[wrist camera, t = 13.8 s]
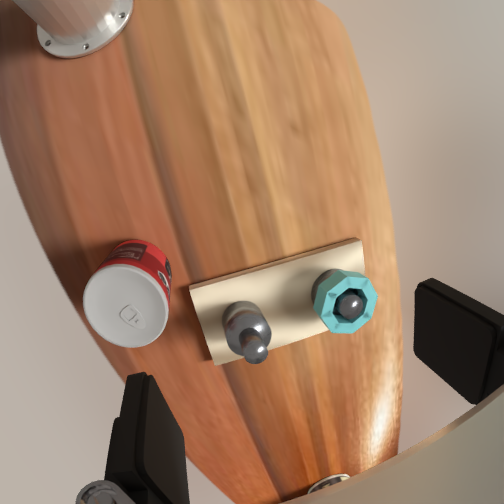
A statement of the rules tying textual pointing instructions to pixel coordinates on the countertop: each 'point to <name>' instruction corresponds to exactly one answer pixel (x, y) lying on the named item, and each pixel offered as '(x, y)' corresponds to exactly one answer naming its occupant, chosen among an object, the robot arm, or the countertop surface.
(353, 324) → the teal octagonal collar
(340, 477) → the coffee can
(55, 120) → the countertop surface
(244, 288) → the base board
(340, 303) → the knob
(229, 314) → the stand
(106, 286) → the canned food
